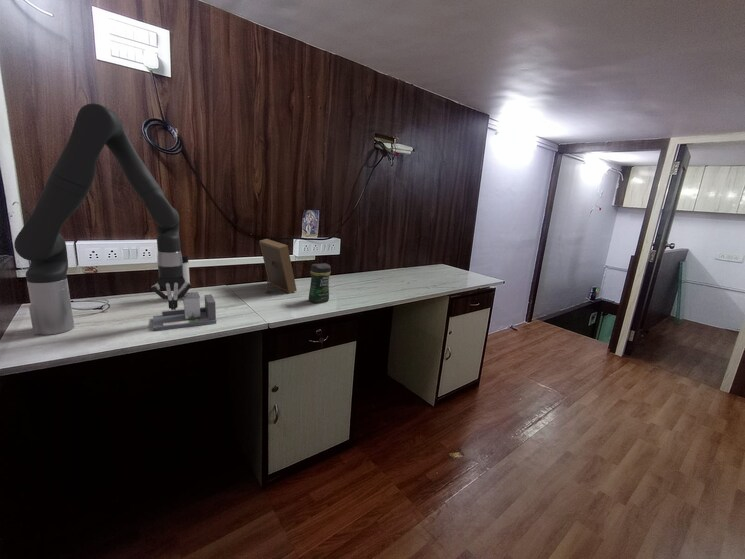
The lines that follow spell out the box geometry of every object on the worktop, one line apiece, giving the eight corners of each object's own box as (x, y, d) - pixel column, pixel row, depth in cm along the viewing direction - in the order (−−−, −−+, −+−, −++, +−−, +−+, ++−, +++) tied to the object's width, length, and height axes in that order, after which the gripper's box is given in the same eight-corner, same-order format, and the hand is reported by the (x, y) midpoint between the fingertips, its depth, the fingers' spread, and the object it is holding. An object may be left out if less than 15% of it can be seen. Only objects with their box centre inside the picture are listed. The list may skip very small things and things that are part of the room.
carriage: (185, 322, 119) (184, 300, 117) (183, 314, 127) (182, 293, 124) (201, 320, 122) (200, 298, 120) (198, 312, 129) (197, 291, 127)
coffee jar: (315, 304, 155) (316, 266, 151) (306, 299, 161) (307, 262, 156) (331, 301, 162) (334, 264, 157) (322, 296, 167) (324, 261, 163)
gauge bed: (153, 331, 114) (151, 308, 112) (153, 319, 123) (151, 298, 121) (216, 323, 125) (215, 302, 123) (211, 312, 134) (211, 293, 132)
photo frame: (276, 282, 186) (276, 238, 179) (296, 292, 171) (297, 244, 164) (250, 285, 175) (249, 239, 169) (270, 296, 161) (270, 246, 154)
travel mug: (171, 299, 145) (168, 255, 140) (179, 295, 151) (176, 252, 146) (185, 300, 145) (183, 256, 140) (193, 296, 151) (190, 253, 146)
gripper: (147, 266, 110) (151, 314, 115) (192, 264, 118) (194, 310, 122) (148, 261, 116) (152, 307, 121) (190, 260, 124) (192, 304, 128)
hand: (173, 309), depth 121 cm, fingers closed
